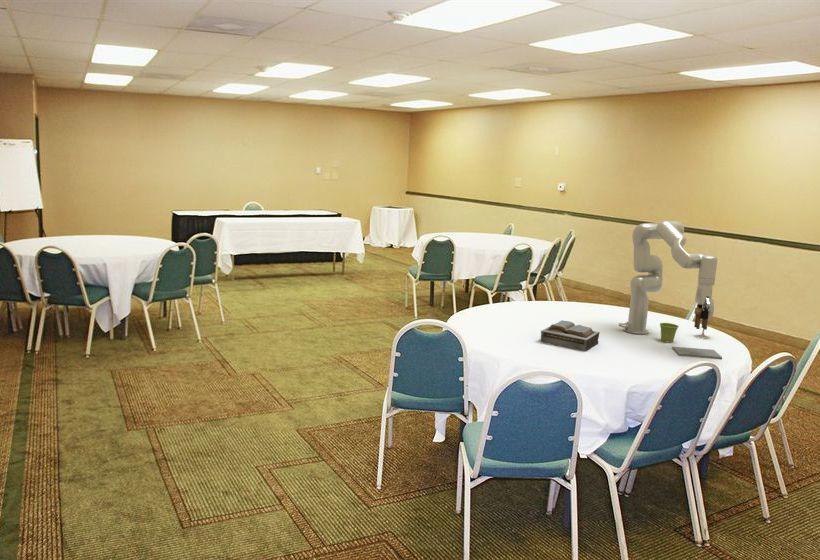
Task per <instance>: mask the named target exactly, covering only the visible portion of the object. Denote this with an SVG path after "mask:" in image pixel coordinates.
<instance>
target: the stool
mask: <svg viewBox="0 0 820 560" xmlns="http://www.w3.org/2000/svg"><path fill="white" fill-rule="evenodd" d="M701 310H702V308H697V307H695V308H694V313H693V314H695V319H694V328H695V329H696V330H700V328H702V329H703V328H704V331H707V329H708V321H709V319H702V321H701ZM710 311H711V310H710V309H709V313H708V316H710ZM701 322H702V323H701ZM700 326H701V327H700Z"/></svg>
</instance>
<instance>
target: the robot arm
mask: <svg viewBox="0 0 820 560" xmlns="http://www.w3.org/2000/svg"><path fill="white" fill-rule="evenodd" d="M684 232H685V227H684V224H683V223H682V222H680V221H679V220H663V221H662V220H661V221H660V222H659V223H658V222H646V223H641V224H640V223H639V224H637V225H636V226H635V227H634V229H633V231H632V244H633V269H634V272H636V273H647V274H638V275H634V276H633V277H632V278H631V280H630V283H629V284H630V301H629V302H630V303H629V311H628V312H629V313H628V320H627V321H626V322H625V323H623V322H618V327H621V328H623V330H624V331H625V332H626V333H630V334H633V335H635V334H636V335H648V334H649V330H648V329H647V323H648V322H647V319H648V315H649V314H648V313H649V302H650V300H649V297H648V293H657V292H659V291H660V290H661V288H662V287H663V266H664V265H663V261H662V259H661V257H660V256H658V255H657V254H651V245H650V243H649V241H648V240H663V241H665V243H666V244H667V245H668V246H669V247H670V253H671V257H672V259H673V260H674V261H675V262H676V263H677V265H679V266H680V267H682V268H683V269H686V270H687V269H688V270H690V269H698V276H697V284H698V285H697V289H696V293H695V300H694V301H695V302H696V303H697V304H696V308H702V310H701V319H702V320H703V319H708V313H709V306H710V304H711V300H712V297H713V286H715V285H716V284H715V281H716V273H717V266H718V258H717V257H716V256H715V255H707V254H705V253H701V252H698V253H697V252H687V251H685V249H684V248H683V247H684V245H685V244H686V243H687V238H686V236H685V235H684ZM704 306H705V307H704ZM708 320H709V319H708Z"/></svg>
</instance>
